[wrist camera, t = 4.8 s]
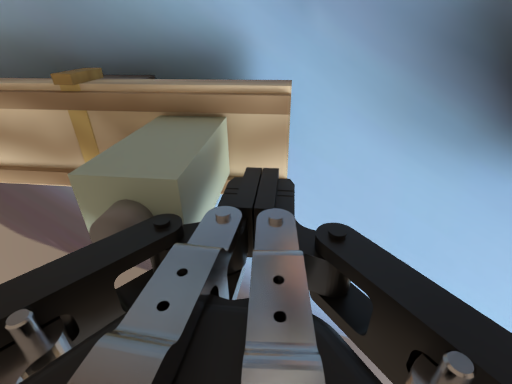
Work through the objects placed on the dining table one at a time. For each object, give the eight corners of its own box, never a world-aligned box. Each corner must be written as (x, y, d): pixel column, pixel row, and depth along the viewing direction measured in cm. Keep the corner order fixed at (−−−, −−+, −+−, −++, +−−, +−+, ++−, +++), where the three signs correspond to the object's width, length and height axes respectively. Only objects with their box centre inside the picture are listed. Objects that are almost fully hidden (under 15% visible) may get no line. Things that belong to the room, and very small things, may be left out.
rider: (160, 115, 17) (41, 191, 9) (226, 116, 17) (162, 198, 9) (169, 170, 19) (77, 274, 11) (229, 173, 18) (179, 283, 10)
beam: (-31, 62, 23) (-180, 77, 16) (292, 62, 20) (291, 80, 13) (12, 156, 27) (-90, 202, 20) (287, 167, 24) (284, 226, 17)
